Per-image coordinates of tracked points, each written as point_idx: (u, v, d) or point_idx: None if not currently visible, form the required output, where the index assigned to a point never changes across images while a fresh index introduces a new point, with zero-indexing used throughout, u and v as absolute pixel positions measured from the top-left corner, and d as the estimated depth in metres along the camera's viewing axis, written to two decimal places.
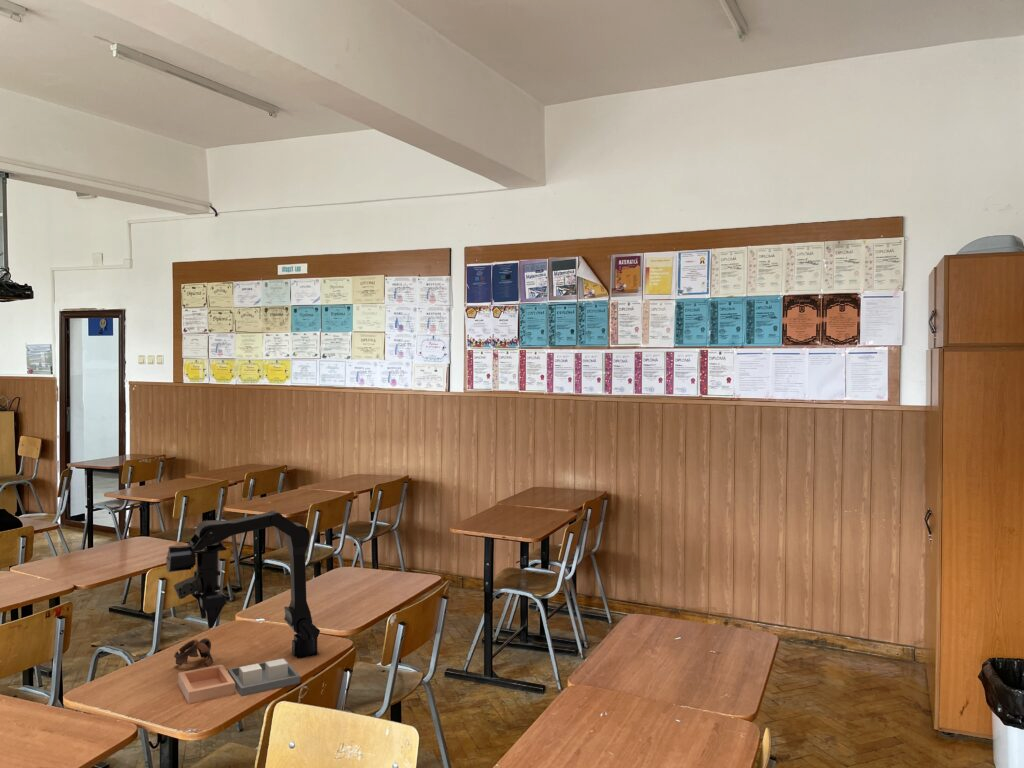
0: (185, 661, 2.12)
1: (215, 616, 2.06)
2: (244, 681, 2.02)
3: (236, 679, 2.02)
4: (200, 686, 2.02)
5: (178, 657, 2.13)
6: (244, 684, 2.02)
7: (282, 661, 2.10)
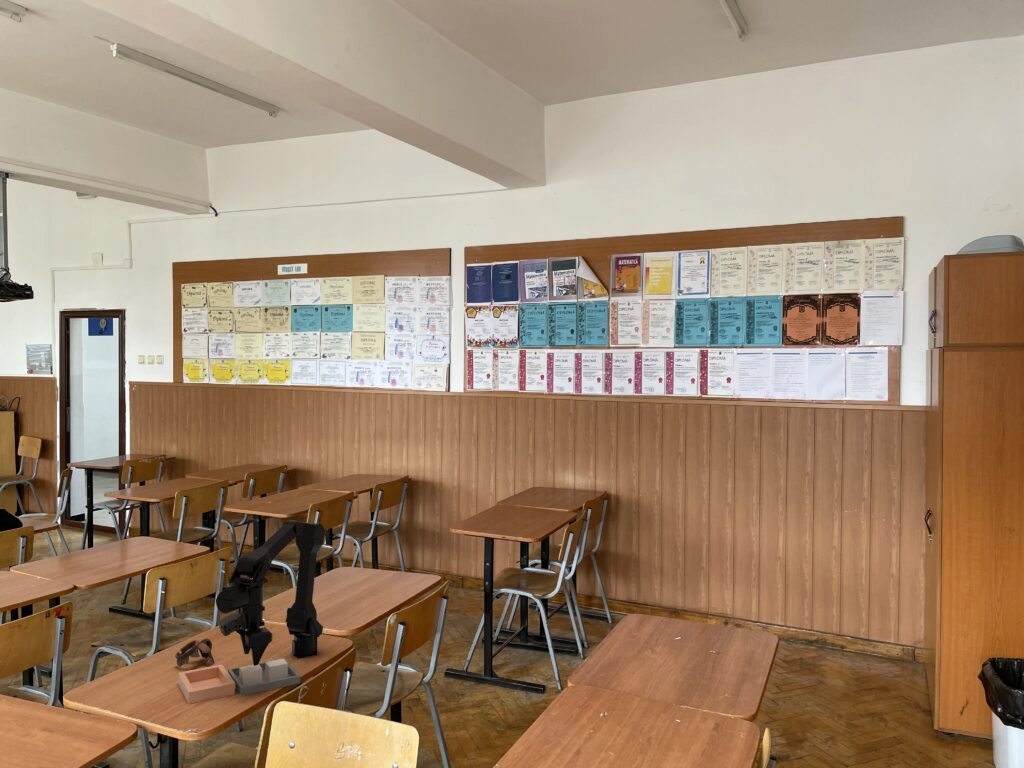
0: (186, 661, 2.12)
1: (260, 653, 2.01)
2: (244, 681, 2.02)
3: (236, 679, 2.02)
4: (200, 686, 2.02)
5: (179, 657, 2.13)
6: (244, 684, 2.02)
7: (282, 661, 2.10)
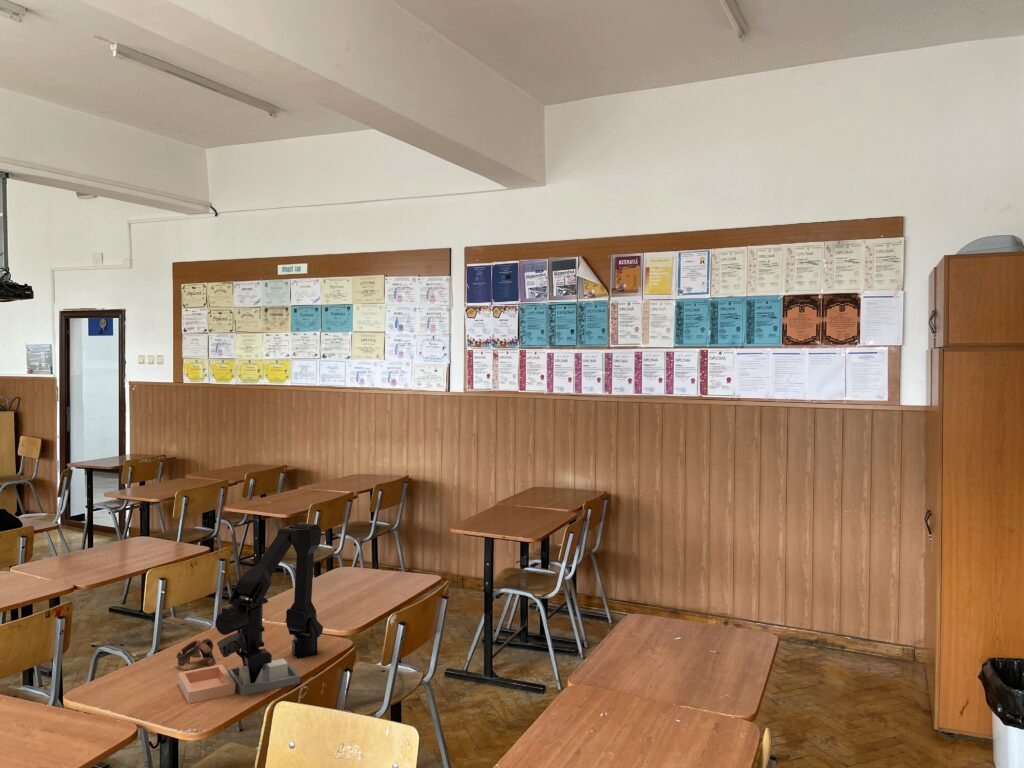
0: (187, 662, 2.12)
1: (257, 671, 2.03)
2: (244, 681, 2.02)
3: (236, 679, 2.02)
4: (200, 686, 2.02)
5: (180, 658, 2.12)
6: (244, 684, 2.02)
7: (282, 661, 2.10)
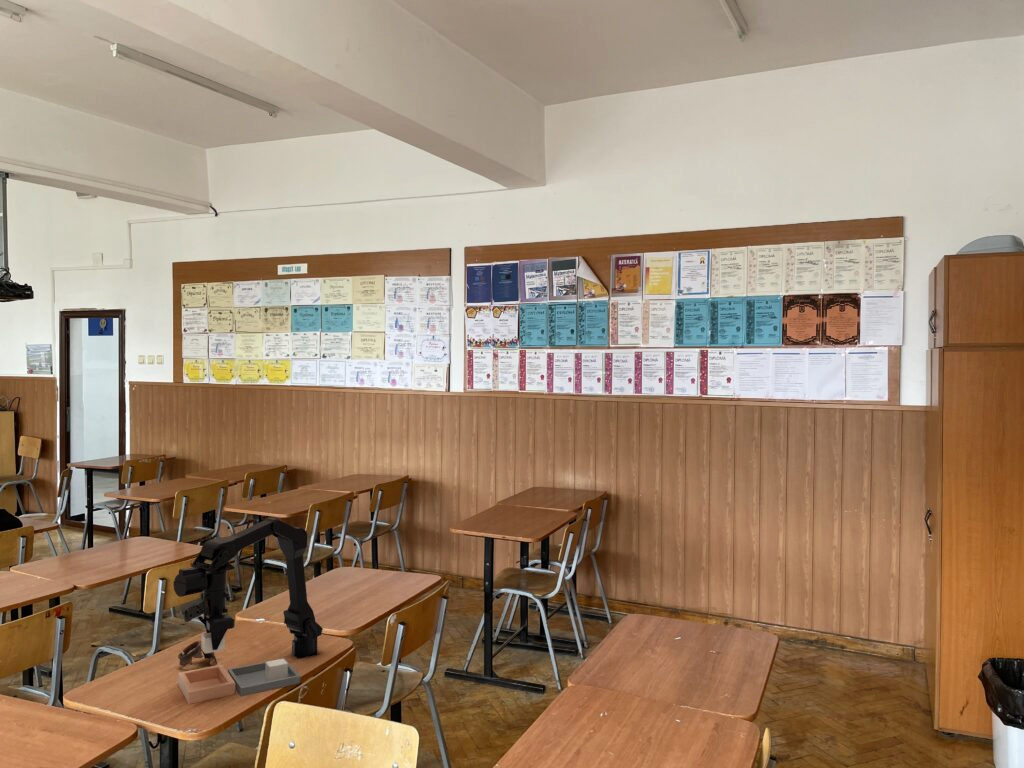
0: (189, 662, 2.12)
1: (220, 637, 1.98)
2: (206, 647, 1.98)
3: (236, 679, 2.02)
4: (200, 686, 2.02)
5: (182, 658, 2.12)
6: (206, 650, 1.98)
7: (282, 661, 2.10)
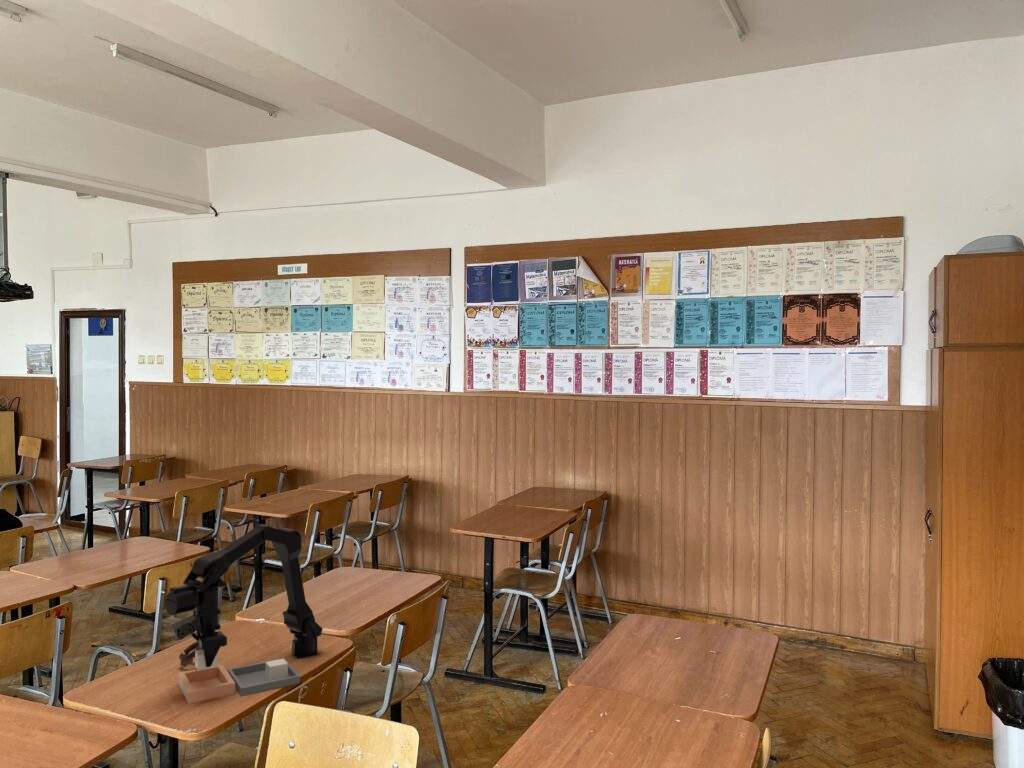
0: (190, 662, 2.11)
1: (213, 654, 1.98)
2: (199, 664, 1.98)
3: (236, 679, 2.02)
4: (200, 686, 2.02)
5: (183, 658, 2.12)
6: (199, 667, 1.98)
7: (282, 661, 2.10)
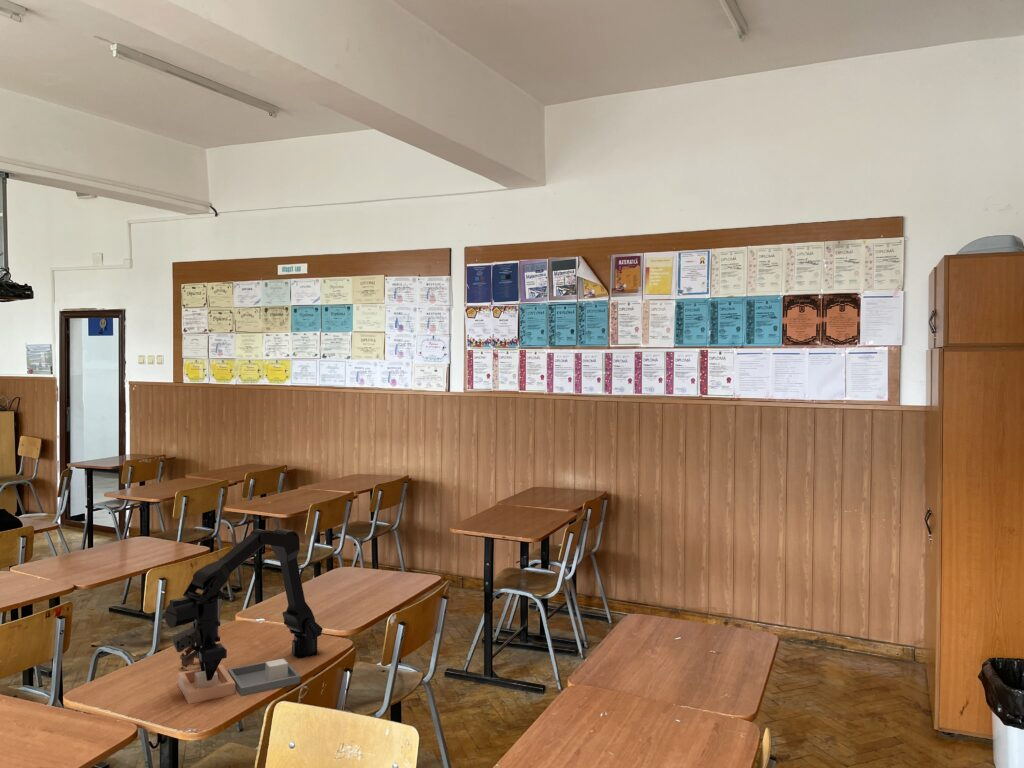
0: (191, 662, 2.11)
1: (214, 668, 1.97)
2: (199, 687, 1.98)
3: (236, 679, 2.02)
4: None
5: (184, 659, 2.12)
6: None
7: (282, 661, 2.10)
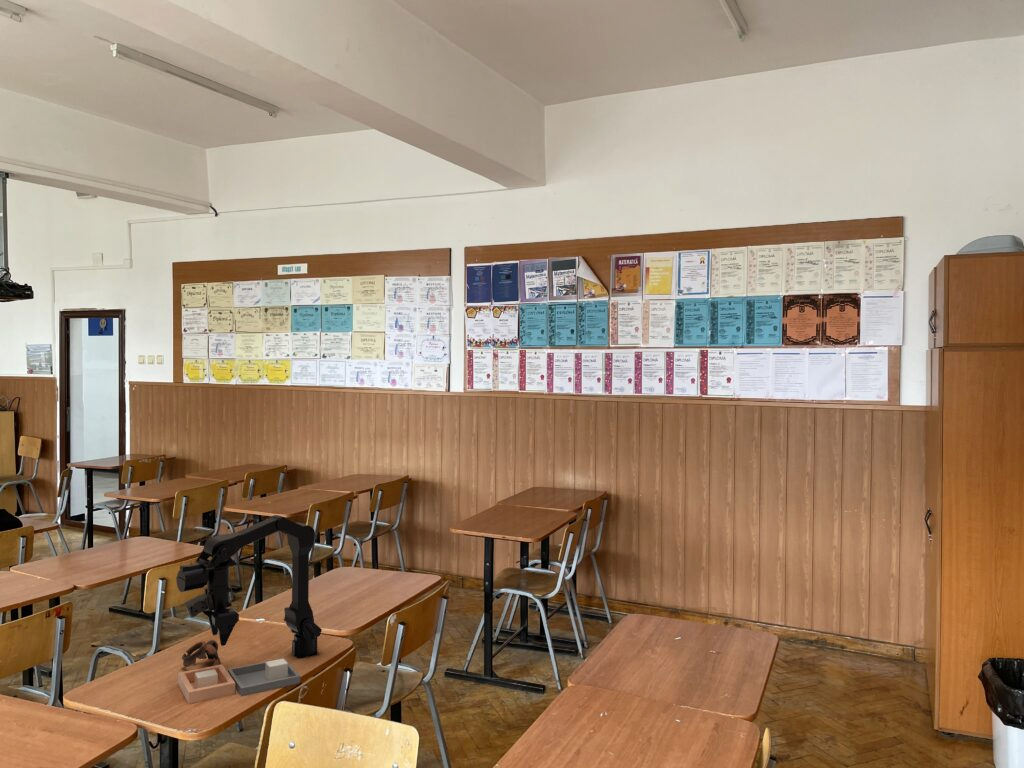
0: (193, 663, 2.11)
1: (227, 633, 2.03)
2: (199, 687, 1.98)
3: (236, 679, 2.02)
4: None
5: (186, 659, 2.12)
6: None
7: (282, 661, 2.10)
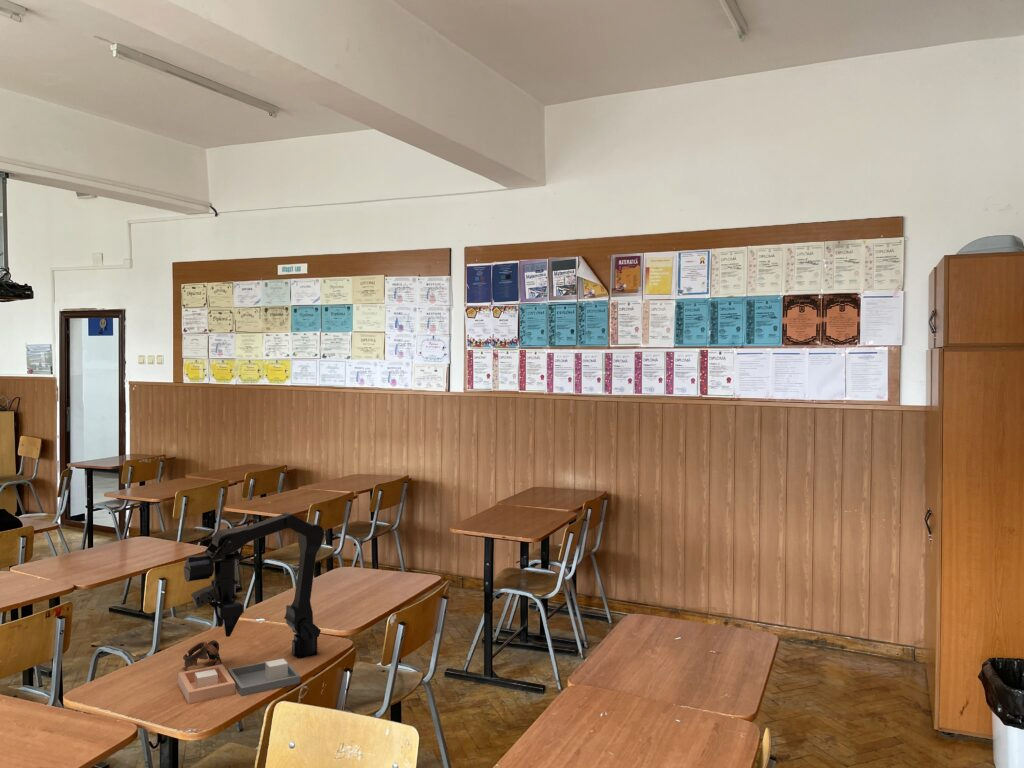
0: (195, 663, 2.11)
1: (232, 625, 2.07)
2: (199, 687, 1.98)
3: (236, 679, 2.02)
4: None
5: (187, 659, 2.11)
6: None
7: (282, 661, 2.10)
